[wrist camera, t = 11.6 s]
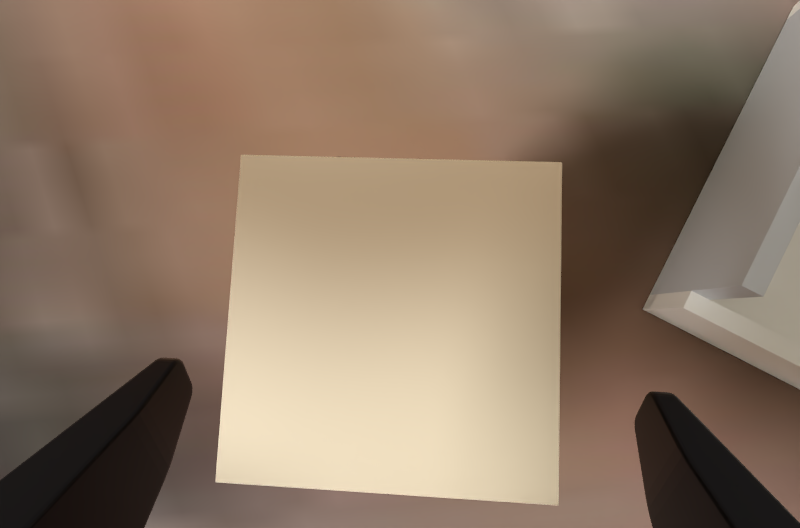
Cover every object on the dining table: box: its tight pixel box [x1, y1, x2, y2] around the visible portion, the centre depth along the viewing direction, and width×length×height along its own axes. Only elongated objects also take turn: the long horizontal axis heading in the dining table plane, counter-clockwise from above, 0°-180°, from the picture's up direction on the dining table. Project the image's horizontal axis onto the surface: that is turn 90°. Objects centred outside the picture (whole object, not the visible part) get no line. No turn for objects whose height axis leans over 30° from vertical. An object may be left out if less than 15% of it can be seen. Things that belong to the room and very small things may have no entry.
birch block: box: [215, 155, 562, 505], centre depth 12 cm, size 4×4×13 cm
